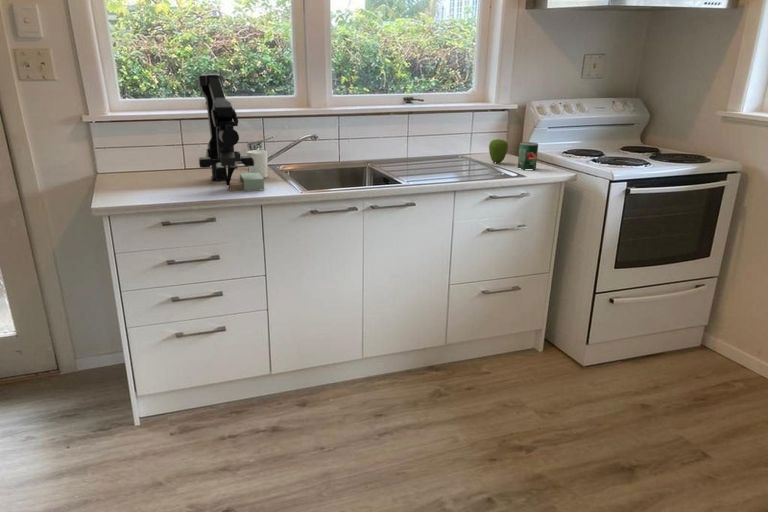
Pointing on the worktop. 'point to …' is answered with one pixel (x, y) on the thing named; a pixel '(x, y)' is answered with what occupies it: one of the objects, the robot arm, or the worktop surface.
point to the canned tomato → (527, 155)
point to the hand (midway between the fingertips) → (227, 185)
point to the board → (236, 185)
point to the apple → (498, 150)
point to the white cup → (259, 162)
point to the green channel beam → (252, 181)
